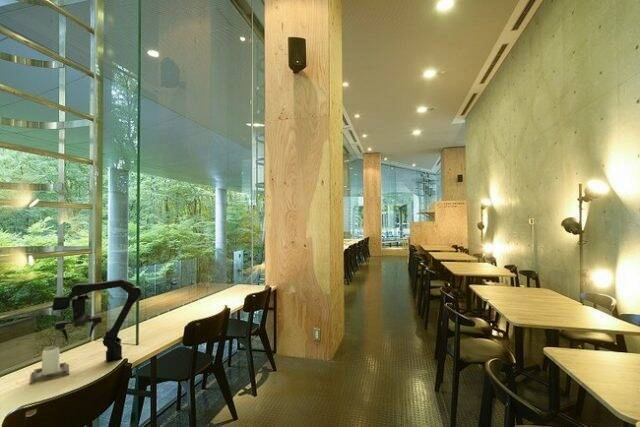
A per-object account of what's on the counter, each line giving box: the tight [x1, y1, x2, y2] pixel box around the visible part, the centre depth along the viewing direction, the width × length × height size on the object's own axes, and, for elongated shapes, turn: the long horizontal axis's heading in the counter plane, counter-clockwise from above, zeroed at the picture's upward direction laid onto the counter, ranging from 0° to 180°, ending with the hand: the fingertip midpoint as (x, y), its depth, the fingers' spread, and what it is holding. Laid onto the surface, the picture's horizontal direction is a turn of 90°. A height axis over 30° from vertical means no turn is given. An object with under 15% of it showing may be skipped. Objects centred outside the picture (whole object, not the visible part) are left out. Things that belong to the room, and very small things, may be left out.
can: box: [41, 344, 61, 375], centre depth 154 cm, size 6×6×12 cm
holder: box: [29, 362, 70, 386], centre depth 154 cm, size 14×14×2 cm
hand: (78, 339), depth 164 cm, fingers open, 9 cm apart
